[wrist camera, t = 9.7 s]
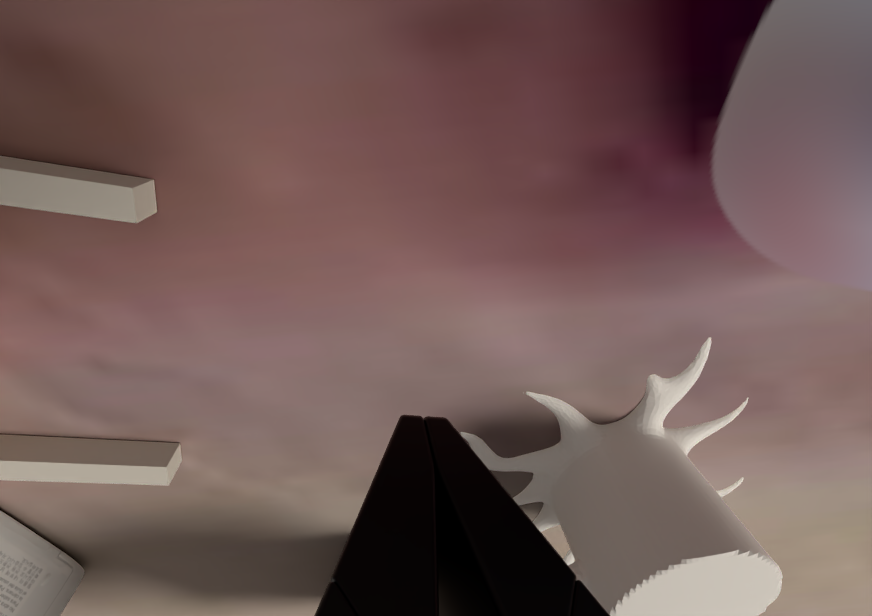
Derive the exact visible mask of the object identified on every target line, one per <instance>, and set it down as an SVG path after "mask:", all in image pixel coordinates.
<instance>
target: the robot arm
mask: <svg viewBox="0 0 872 616" xmlns="http://www.w3.org/2000/svg"><path fill="white" fill-rule="evenodd" d="M315 616H610V615H609V614H608V613H607V611H606V610H605V609H604V608H603V607H602V606H601V604H600V603H599V602H598V601H597V600H596V598H595V597H594V596H593V595H592V594H591V592H590V591H589V590H588V589H587V587H586V586H585V585H584V584H583V583H582V581H580V580H577V581H576V575H575V573H574V572H573V571H572V570H571V568H570V567H569V566H568V565H567V564H566V562H565V561H564V560H563V559H562V557H561V556H560V555H559V554H558V553H557V551H556V550H555V549H554V548H553V547H552V545H551V544H550V543H549V542H548V541H547V539H546V538H545V537H544V536H543V534H542V533H541V532H540V531H539V530H538V528H537V527H536V526H535V525H534V524H533V522H532V521H531V520H530V519H529V517H528V516H527V515H526V514H525V513H524V511H523V510H522V509H521V508H520V507H519V505H518V504H517V503H516V502H515V501H514V499H513V498H512V497H511V496H510V494H509V493H508V492H507V491H506V490H505V488H504V487H503V486H502V485H501V484H500V482H499V481H498V480H497V479H496V478H495V476H494V475H493V474H492V473H491V471H490V470H489V469H488V468H487V467H486V465H485V464H484V463H483V462H482V461H481V459H480V458H479V457H478V456H477V454H476V453H475V452H474V451H473V450H472V448H471V447H470V446H469V445H468V444H467V442H466V441H465V440H464V439H463V438H462V436H461V435H460V434H459V433H458V431H457V430H456V429H455V428H454V427H453V425H452V424H451V423H450V422H449V421H448V420H447V419H446V418H443V417H429V416H428V417H425V418H424V419H423V418H422V417H421V416H414V415H402V416H401V417H400V418H399V421H398V423H397V425H396V428H395V430H394V432H393V435H392V437H391V439H390V442H389V444H388V446H387V449H386V451H385V453H384V456H383V458H382V460H381V463H380V465H379V467H378V470H377V472H376V474H375V477H374V479H373V481H372V484H371V486H370V488H369V491H368V493H367V495H366V498H365V500H364V502H363V505H362V507H361V509H360V512H359V514H358V516H357V519H356V521H355V523H354V526H353V528H352V530H351V533H350V535H349V537H348V540H347V542H346V544H345V547H344V549H343V551H342V554H341V556H340V558H339V561H338V563H337V565H336V568H335V570H334V572H333V575H332V577H331V582H330V583H329V584H328V586H327V588H326V590H325V593H324V595H323V597H322V600H321V602H320V604H319V607H318V609H317V611H316V614H315Z"/></svg>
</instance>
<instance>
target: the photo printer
mask: <svg viewBox="0 0 872 616" xmlns="http://www.w3.org/2000/svg"><path fill="white" fill-rule="evenodd" d="M83 576H84V569H83V568H82V566H81V565H79V564H78V563H77V562H76V561H75V560H74V559H72V558H71V557H70V556H68V555H67V554H66V553H64V552H63V551H61V550H60V549H58V548H57V547H55V546H54V545H52V544H51V543H49V542H48V541H46V540H45V539H43V538H42V537H40V536H39V535H37V534H36V533H34V532H33V531H31V530H30V529H28V528H27V527H25V526H23V525H22V524H20V523H19V522H17V521H16V520H14V519H13V518H11V517H10V516H8V515H7V514H5V513H4V512H2V511H1V510H0V616H60V615H61V613H62V612H63V610H64V608H65V607H66V605H67V603H68V602H69V600H70V599H71V597H72V596H73V594H74V592H75V591H76V589H77V587H78V586H79V584H80V582H81V580H82V578H83Z"/></svg>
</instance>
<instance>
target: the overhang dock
mask: <svg viewBox="0 0 872 616" xmlns="http://www.w3.org/2000/svg"><path fill="white" fill-rule="evenodd" d="M0 205H7V206H14V207H21V208H28V209H36V210H43V211H50V212H58V213H65V214H72V215H80V216H87V217H94V218H102V219H109V220H116V221H123V222H131V223H138V222H140V221H142V220H144V219H146V218H147V217H149V216H151V215H153V214H155V213H156V212H157V205H156V195H155V185H154V179H147V178H141V177H134V176H128V175H121V174H115V173H109V172H102V171H96V170H89V169H83V168H76V167H70V166H64V165H57V164H51V163H44V162H38V161H31V160H25V159H19V158H12V157H6V156H0ZM181 462H182V457H181V447H180V443H166V442H146V441H126V440H105V439H85V438H65V437H44V436H24V435H4V434H0V480H12V481H44V482H75V483H107V484H138V485H169V484H170V482H171V480H172V479H173V477H174V475H175V473H176V471H177V469H178V467H179V465H180V463H181Z"/></svg>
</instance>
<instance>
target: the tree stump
mask: <svg viewBox="0 0 872 616" xmlns="http://www.w3.org/2000/svg"><path fill="white" fill-rule="evenodd" d="M710 346H711V338H708V339H707V341H706V342H705V343H704V344H703V346H702V347H701V349H700V351H699V353H698V355H697V356H696V358H695V360H694V361H693V362H692V363H691V364H690V365H689V366H688V368H687V369H686V370H684V371H683V372H682V373H680V374H679V375H677V376H675V377H672V378H666V379H665V378H661V377H659V376H657V375H655V374H653V375H650V376H649V377H648V379H647V387H646V392H645V395H644V397H643V399H642V400H641V402H640V403H639V404H638V406H637V407H636V408H635V409H634V410H633V411H632V412H631V413H630V414H629V415H627V416H626V417H625V418H623V419H621V420H619V421H617V422H613V423H609V424H605V425H599V424H596V423H593V422H591V421H590V420H588V419H587V418H586V417H585V416H583V415H582V414H581V413H580V412H579V411H577V410H576V409H575V408H573V407H572V406H571V405H569V404H567V403H565V402H564V401H561V400H559V399H557V398H553V397H550V396H547V395H542V394H536V393H532V392H529V391H527V392H526V394H527V395H529V396H531V397H532V398H533V399H536V401H538V402H540V403H541V404H543V405H545V406H546V407H547V408H548V409H550V410H551V411H552V412H553V413H554V415H555V416H556V418H557V420H558V422H559V426H560V431H561V440H560V442H559V443H557V444H556V445H554V446H552V447H549V448H546V449H543V450H539V451H536V452H532V453H528V454H524V455H520V456H517V457H513V458H502V457H500V456H498V455H496V454H495V453H494V452H493V451H492V450H491V449H490V448H489V447H488V446H487V445H486V443H485V442H484V441H483V440H482V439H480V438H479V437H478V436H476V435H474V434H469V433H466V432H460V433H461V436H462V437H463V438H465V439H466V440H467V441H468V442H469V444H470V447H471V448H472V450H473V451H474V452H475V453H476V454H477V456H478V457H479V458H480V459H481V461H482V462H483V463H484V464H485V465H486V467H487V468H488V469H489V470H494V471H503V472H508V471H523V472H531V473H533V479H532V481H531V482H530V483H529V485H528V486H527V487H526V488H525V489H524V490H523V491H522V492H520V493H519V494H518V495H516V496H515V497H513V499H514V501H515V502H516V503H517V504H518V505H524V504H528V503H534V502H543V507H542V509H541V511H540V513H539V514H538V516H537V517H536V518H535V519H534V521H533V524H534V525H535V526H536V527H537V528H538V530H539V531H540V532H542V531H544V530H546V529H549V528H551V527H554V526H557V525H561V527H562V530H563V532H564V535H565V537H566V539H567V542H568V544H569V547H570V550H569V551H568V553H567V555H566V556H565V558H564V559H563V560H564V561H565V562H566V564H567V565H568V566H569V567H570V568H571V570H572V571H573V572H574V573H575V575H576V581H577V580H580V581H582V583H583V584H584V585H585V586H586V587H587V589H588V590H589V591H590V592H591V594H592V595H593V596H594V597H595V598H596V600H597V601H598V602H599V603H600V604H601V606H602V607H603V608H604V609H605V610H606V611H607V613H608V614H609V615H610V616H758V615H759V614H761V613H762V612H765V611H766V608H767V606H768V605H769V604H771V603H772V602H773V601H774V600H775V599H776V598H777V597H778V595H779V593H780V591H781V586H782V581H781V579H782V578H783V576H782V573H781V570H780V568H779V566H778V565H777V564H776V562H775V561H774V560H773V559H772V558H771V556H770V555H769V554H768V553H767V552H766V550H765V549H764V548H763V547H762V546H761V544H760V543H759V542H758V541H757V540H756V538H755V537H754V536H753V535H752V534H751V532H750V531H749V530H748V529H747V528H746V526H745V525H744V524H743V523H742V522H741V520H740V519H739V518H738V517H737V516H736V514H735V513H734V512H733V511H732V510H731V508H730V507H729V506H728V505H727V504H726V502H725V501H724V500H723V499H722V498H721V497H723V496H725V495H726V494H728V493H730V492H731V491H732V490H734V489H735V488H736V487H738V486H739V485H740V484H741V483H742V481H743V479H744V477H743V478H742V479H740V480H738V481H737V482H736V483H735V484H733V485H731V486H729V487H727V488H725V489H722V490H718V491H716V490H715V489H714V488H713V487H712V486H711V484H710V483H709V482H708V481H707V480H706V478H705V477H704V476H703V475H702V474H701V472H700V471H699V470H698V469H697V468H696V466H695V465H694V464H693V463H692V462H691V460H690V459H689V458H688V457H687V454H688V452H689V451H690V450H691V448H693V447H694V446H695V445H696V444H697V443H699V442H700V441H701V440H703V439H704V438H706V437H707V436H709V435H711V434H712V433H714V432H716V431H718V430H719V429H721V428H722V427H724V426H725V425H727V424H728V423H729V422H731V421H732V420H733V419H734V418H735V417H736V416H737V415H738V414H739V413H740V412H741V411H742V410H743V409H744V407H745V406H746V404H747V401H748V398H747V400H746V401H745V402H744V403H742V405H741V406H739V407H738V408H737V409H736V410H734V411H733V412H731V413H730V414H728V415H726V416H724V417H722V418H719V419H716V420H714V421H710V422H706V423H702V424H698V425H694V426H689V427H683V428H664V427H663V421H664V419H665V417H666V415H667V414H668V413H669V411H670V410H671V409H672V408H673V406H674V405H675V404H676V403H677V402H678V401H679V400H680V399H682V398H683V396H684V395H685V394H686V393H687V392H688V391H689V390H690V388H691V387H692V386H693V384H694V383H695V382H696V380H697V379H698V378H699V376H700V373H701V372H702V369H703V367H704V365H705V362H706V360H707V358H708V354H709V350H710ZM574 559H575V561H574Z"/></svg>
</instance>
